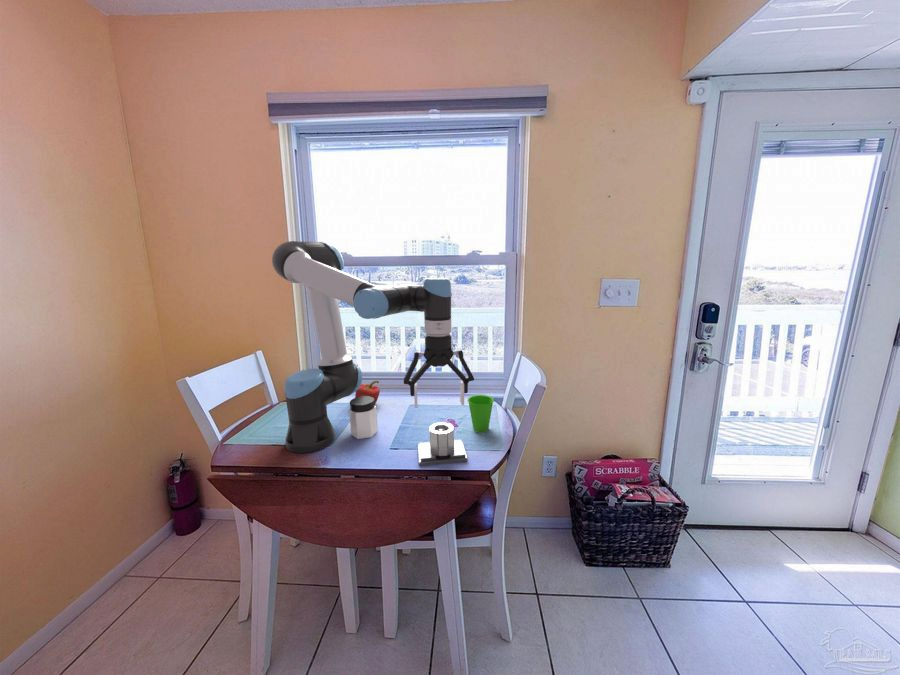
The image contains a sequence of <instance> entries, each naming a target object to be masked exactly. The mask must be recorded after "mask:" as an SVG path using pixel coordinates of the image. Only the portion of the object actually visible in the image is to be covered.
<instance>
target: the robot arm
mask: <svg viewBox="0 0 900 675" xmlns="http://www.w3.org/2000/svg"><path fill="white" fill-rule="evenodd" d="M271 263H272V267H273V270H275V273H276V274H278V275H279V277H281V278H283V279H284V280H286V281H288V282H290V283H293V284H302V285H303V286H304V287H305V288H307V289H308V291H309V296H310V301H311V307H312V313H313V319H314V324H315V330H316V336H317V342H318V346H319V347H318V348H319V351H320V358H321V359H320V360H319V362H317V367H318V368H314V367H313V368H306V369H302V370H298V371H296V372H294V373H292V374H290V375H289V376H287V378H286V379H285V381H284V396H285V401H286V406H287V407H286V408H287V416H288V427H287V432H286V435H285V447H286V448H285V449H287V450H288V451H290V452H291V453H294V454H295V453H296V454H308V453H312V452H317V451H319V450H322V449H324V448H325V449H326V448H327V447H328V446H329V445H331V444H332V443H334V441H335V439H336V431H335V428H334V427H333V424H332V422H331V421H330V418H329V417H328V411H327V410H328V408H327V406H328V405H329V404H333V403H334V402H335V403H336V402H337V401H339V400H341V399H344V398H346V397H349V396H351V395H353V394H354V393H356V391H357V390H358V389H359V387H360V386H361V385H362V384H363V383H362V382H363V374H362V373H363V372H362V369H361V368H360V367H359V364H357V363H356V362H355V361H353V357H351V356H350V355H349V354H348V353H347V346H346V339H345V334H344V330H343V328H344V327H343V322H342V316H341V311H340V306H339V301H340V302H342V303H345V304H347V305H349V306H351V307H353V308H354V311H355V312H356V313H357V314H358V316H359V317H360V318H362V319H365V320H371V319H373V320H374V319H380V318H382V317H386V316H387V317H388V316H391V315H396V314H400V313H405V312H421V313H422V312H423V315H424V316H423V317H424V333H425V335H424V350H423V351H419V350H414V353H413V359H412V361H411V362H410V365H409V367H408V369H407V371H406V373H405V374H404V378H403V384H404V385H408V386H409V389H410V391H409V392H410V394H409V395H410V396H411V397H414V408H415V409H417V408H418V385H417V384H418V383H417V382H418V381H419V380H420V379H421V377H423V375H424V374H425V373H426V372H427V371H428V370H429V368H430V367H431V366H432V367H434V368H437V367H445V366H448V367H449V368H450V369H451V370H452V371H453V372H454V373H455V374H456V375H457V377H459V378H460V380H459V386H460V387H459V392H460V395H459V396H460V399H459V401H460V405H461V406H465V394H468V392H469V391H468V390H469V388H468V387H469V386H468V385H469V382H471V381H472V382H474V380H475V377H474V375H473V374H472V371H471V370H470V368H469V366H468V363H467V362H466V360H465V357H464V352H463V350H462V348H457V350H456V349H455V350H453V347H452V346H453V342H452V341H453V339H452V338H453V337H452V334H451V333H452V331H453V330H452V296H453V294H452V283H451V280H450V279H449V278H446V277H428V278H427V277H426V278H424V279H423V283H422V284H420V285H419V284H406V283H396V284H392V285H390V286H378V285H375V284H372V283H370V282H368V281H366V280H363V279H360V278H358V277H357V276H354V275H351V274H349V273H347V272H344V271H343V269H344V266H345V263H344V259H343V255H342V253H341V252H340V250H339V249H338V248H337V247H336V246H335V245H333V244H331V243H329V242H323V241H298V240H297V241H296V240H291V241H286V242H283V243H280V244H279V245H278V246H277V247H276V248H275V249H274V251H273V253H272V257H271ZM453 356H455V357H456V359H457V358H458V359H459V362H460V363H461V365H462V367H463V369H464V371H465V372H466V374H467V376H466V375H465V374H464V373H463V372H462V371H461V370H460V369H459V367H458V366H457V365H456V364H455V363H454V362H453V361H452V358H453ZM422 357H424V359H425V361H424V363H423V364H422V365H421V367H420V368H419V369H418V370H417V372H416V373H415V374H414V375H413V373H414V371H415V368H416V366H417V365H418V362H419V360H421V359H422ZM412 375H413V376H412Z"/></svg>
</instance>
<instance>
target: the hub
mask: <svg viewBox="0 0 900 675" xmlns="http://www.w3.org/2000/svg"><path fill="white" fill-rule="evenodd" d="M439 427H444V428H446V431H442V432H438V431H436V429H437V428H439ZM454 440H455V431H454V425H453V424H451V423H448V422H436V423H435V422H434V423H433V424H431V425H430V426H429V442H430V450H431V453H432V454H434V455H437V456H438V455H439V456H447V454H448V455H449V454H451V453H452V452H454Z"/></svg>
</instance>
